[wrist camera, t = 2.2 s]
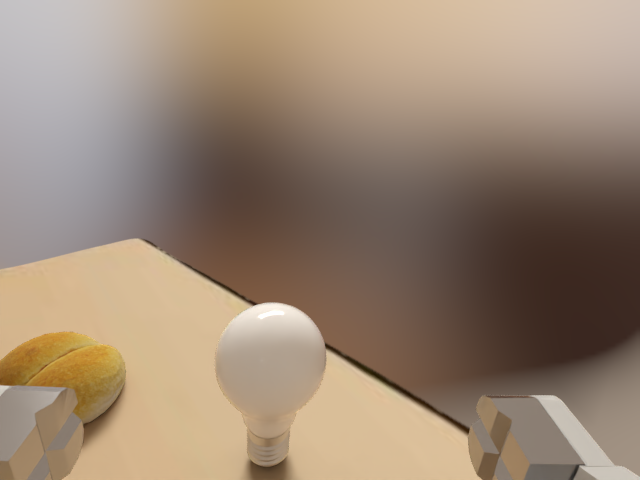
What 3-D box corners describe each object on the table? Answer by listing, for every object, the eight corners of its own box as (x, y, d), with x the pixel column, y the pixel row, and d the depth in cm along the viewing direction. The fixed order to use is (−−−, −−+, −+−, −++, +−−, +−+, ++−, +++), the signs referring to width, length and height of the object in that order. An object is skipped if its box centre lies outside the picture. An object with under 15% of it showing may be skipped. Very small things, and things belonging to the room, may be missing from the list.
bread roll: (50, 463, 24) (37, 414, 23) (-34, 408, 28) (-50, 362, 26) (154, 380, 31) (149, 338, 30) (77, 344, 35) (69, 305, 33)
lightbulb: (198, 485, 23) (189, 332, 19) (242, 407, 29) (243, 275, 25) (300, 517, 22) (314, 360, 18) (326, 429, 28) (340, 294, 24)
